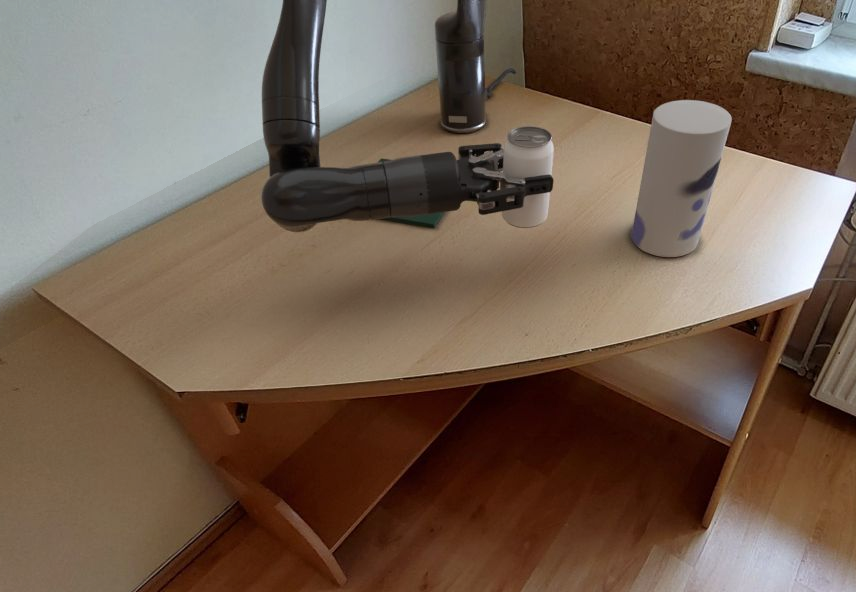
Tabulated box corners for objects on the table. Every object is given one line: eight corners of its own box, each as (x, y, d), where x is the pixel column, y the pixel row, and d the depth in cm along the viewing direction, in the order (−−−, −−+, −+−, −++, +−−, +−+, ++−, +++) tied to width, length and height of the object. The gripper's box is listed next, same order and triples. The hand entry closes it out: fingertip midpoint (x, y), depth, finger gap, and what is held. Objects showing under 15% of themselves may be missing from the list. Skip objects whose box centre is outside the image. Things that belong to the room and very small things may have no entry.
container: (686, 265, 92) (720, 138, 77) (621, 247, 96) (642, 123, 81) (705, 230, 97) (740, 106, 83) (643, 214, 101) (667, 93, 87)
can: (544, 232, 84) (551, 150, 76) (497, 226, 85) (499, 145, 77) (550, 206, 89) (558, 126, 80) (505, 201, 90) (508, 122, 81)
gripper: (428, 188, 73) (564, 170, 75) (410, 133, 83) (530, 118, 85) (432, 240, 78) (558, 223, 80) (414, 183, 88) (527, 168, 90)
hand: (543, 169), depth 82 cm, fingers closed on can, 6 cm apart
